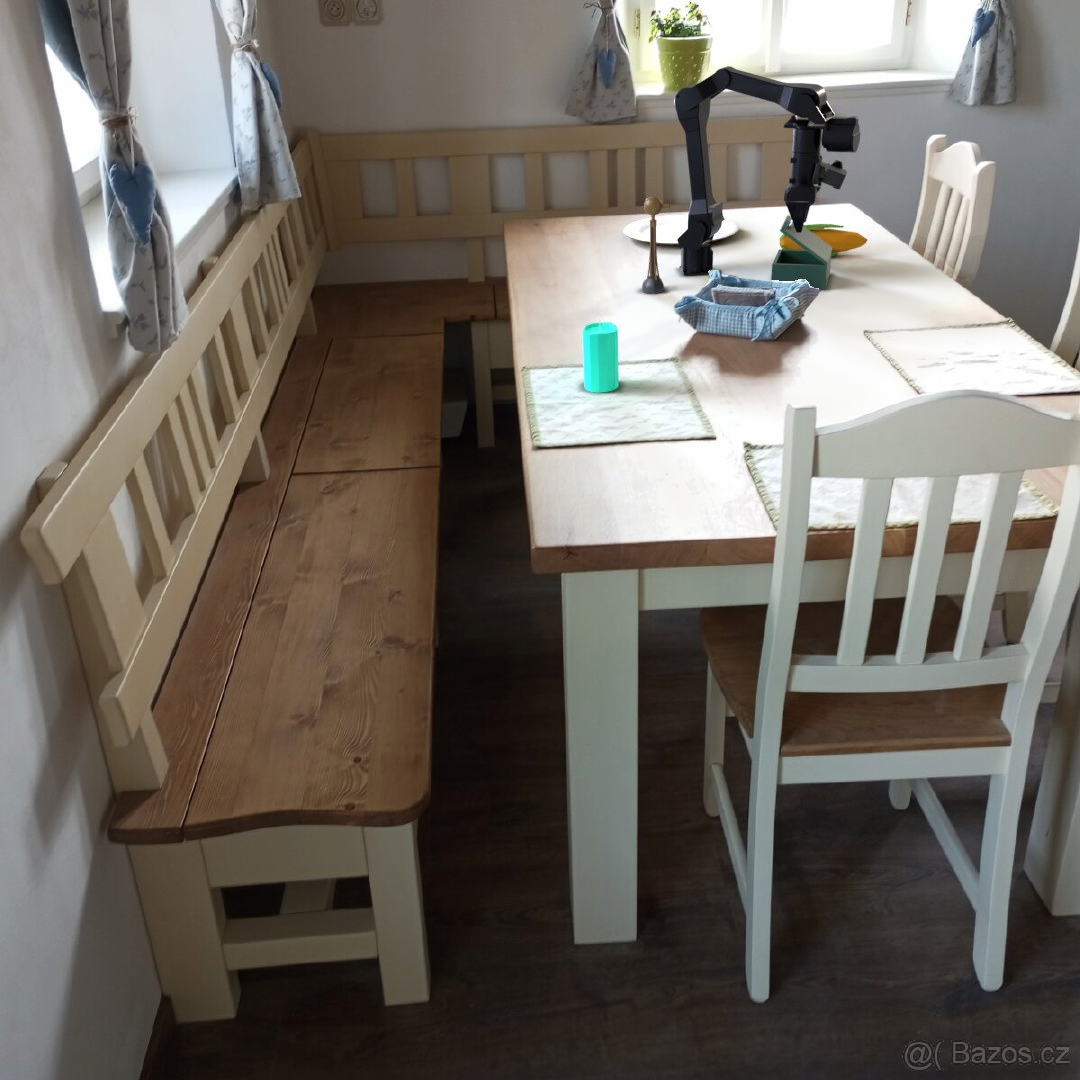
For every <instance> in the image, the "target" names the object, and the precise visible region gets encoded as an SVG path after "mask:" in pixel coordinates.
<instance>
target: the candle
mask: <svg viewBox="0 0 1080 1080" xmlns="http://www.w3.org/2000/svg"><path fill="white" fill-rule="evenodd" d="M598 320H599V322H590V323H588V324H586V325H584V327H583V328H582V354H583V356H582V357H583V387H584V389H585V390H586V391H589V392H592V393H598V394H599V393H600V394H601V393H609V392H613V391H615V390H617V389H618V388H619V385H620V384H619V383H620V382H619V380H620V379H619V329H618V326H617V325H616V324H615V323H612V322H611V321H604V322H603V321H601V318H599V319H598Z"/></svg>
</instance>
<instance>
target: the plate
mask: <svg viewBox="0 0 1080 1080" xmlns="http://www.w3.org/2000/svg"><path fill="white" fill-rule="evenodd" d="M724 219H725V220H724V221H722V226H721V229H720V230H719V231H718V232H717V233H716V234H714V237H713V240H712V241H710V242H709V243H712V242H716V241H720V240H724V239H726V238H729V237H732V236H734V235H735V234H737V232H739V225H737V224H736V222H734V221H731V220H729V219H726V218H724ZM649 220H651V217H649V218H645V219H641V220H636V221H634V222H632V223H631V222H630V224H628V225H627V226H625V227H624V229H623V233H624V235H625V236H626V237H628V238H630V239H632V240H635V241H638V242H643V243H648V244H650V221H649ZM655 220H657V221H656V245H659V246H678V247H679V244H678V241H677V239H678V238H679V237H680V236H681V235H682V234H683V233H684V232H685V231H686V230H687V229H688V228H687V227H688V214H683V215H682V214H679V215H678V214H677V215H663V216H655Z"/></svg>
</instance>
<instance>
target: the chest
mask: <svg viewBox="0 0 1080 1080" xmlns="http://www.w3.org/2000/svg"><path fill="white" fill-rule="evenodd" d="M831 252H832V251H831ZM831 262H832V256H831V255H830V258H829V261H828V263H827V265H825V264H824V263H822V262H821V261H820V260H818V259H817V258H816V257H814V256H813V255H812V254H810V253H809V252H807V251H806V250H783V249H782V248H780V249H778V250H777V253H776V255H775V257H774V259H773V261H772V263H771V279H770V281H771V280H779V281H795V280H798V279H806V280H807V281H808V282H809V284H810V286H812V287H814V288H819V289H820V290H819V291H826V288H827V285H828V282H829V278H830V273H831V265H832V263H831Z"/></svg>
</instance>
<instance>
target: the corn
mask: <svg viewBox="0 0 1080 1080" xmlns="http://www.w3.org/2000/svg"><path fill="white" fill-rule="evenodd" d="M803 226H804V227H805V228H807V229H808V230H809V231H811V232H812V233H813V234H815V235H816V236H818V237H819V238H820V239H822V240H823V241H824V242H826V243H827V244H828V245H830V246H831V247H832V252H831V257H835V256H838V255H839V254H838V253H843V252H848V251H851V250H855V249H858V248H861V247H863V246H864V245H865V244H867V243H868V239H867V238H866V237H864V236H863V235H862V234H860V233H859V232H856V231H847V230H843V229H842V230H841V229H840V228H845V226H844V225H841V224H834V223H833V224H832V223H816V224H815V223H814V224H813V223H812V224H804V225H803ZM834 228H835V229H834ZM779 247H780V249H783V250H805V249H803V248H802V247H801V246H799V245H798V244H797V243H795V242H794V241H793V240H791V239H790V238H788V237H787V236H786V235H784V234H783V233H782V234H781V236H780V238H779Z"/></svg>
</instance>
